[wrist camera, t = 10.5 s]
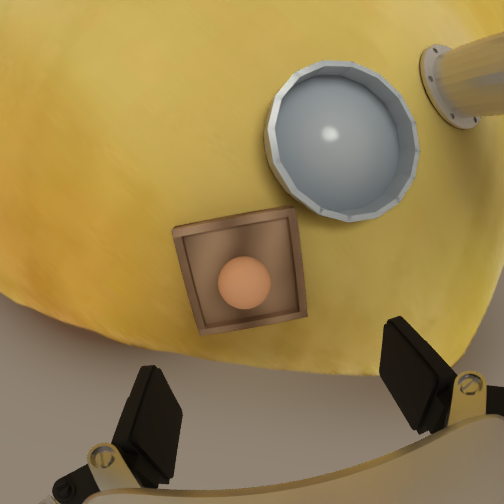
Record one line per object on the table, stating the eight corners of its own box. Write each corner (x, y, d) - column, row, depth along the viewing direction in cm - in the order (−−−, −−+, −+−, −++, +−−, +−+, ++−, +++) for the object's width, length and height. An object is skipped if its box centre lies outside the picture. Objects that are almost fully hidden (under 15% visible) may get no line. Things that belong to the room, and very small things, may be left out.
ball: (264, 245, 28) (269, 262, 23) (271, 290, 29) (277, 314, 24) (215, 254, 28) (210, 272, 23) (224, 298, 29) (222, 322, 24)
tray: (291, 205, 28) (295, 207, 26) (303, 308, 31) (307, 316, 29) (175, 226, 27) (171, 230, 26) (201, 327, 31) (200, 335, 29)
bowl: (384, 76, 24) (403, 67, 20) (404, 205, 28) (424, 210, 25) (251, 77, 23) (254, 63, 20) (276, 225, 28) (283, 234, 24)
